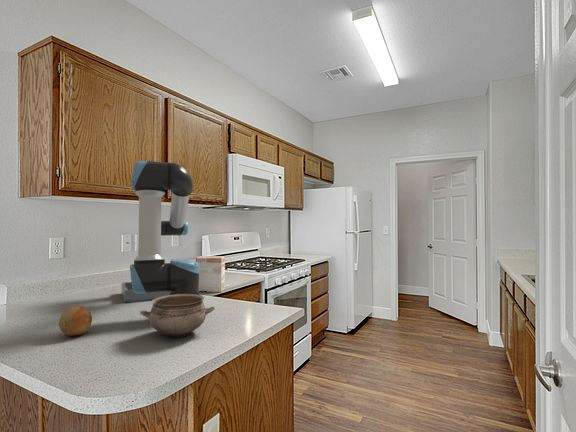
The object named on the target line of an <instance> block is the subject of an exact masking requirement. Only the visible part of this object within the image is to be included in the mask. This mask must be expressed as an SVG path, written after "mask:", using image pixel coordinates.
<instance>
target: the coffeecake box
mask: <svg viewBox="0 0 576 432" xmlns="http://www.w3.org/2000/svg"><path fill="white" fill-rule="evenodd" d="M225 260H226V256H225V255H224V256H221V255H219V256H213V255H211V256H210V255H209V256H205V255H203V256H202V255H200V256H196V257H195V262H197V263H198V264H199V272H200V274H199V291H207V292H206V293H222V292H224V291H225V290H226V289H225V288H226V287H225V283H226V282H225V281H226V279H225V278H226V271H225V270H226V263H225V262H226V261H225Z"/></svg>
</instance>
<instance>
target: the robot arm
mask: <svg viewBox="0 0 576 432" xmlns="http://www.w3.org/2000/svg"><path fill="white" fill-rule="evenodd" d="M132 171H133V172H132V176H131V188H132V189H133V190H134V193H135V195H136V196H137V197H138V239H137V240H138V241H137V242H138V244H137V246H138V247H137V248H138V249H137V254H138V255H137V256H136V258H135V259H133V263H132V264H130V266H129V270H130V271H129V272H130V282H132V288H133V291H134V292H135V293H137V294H142V293H145V294H147V293H158V292H170V295H175V294H195V295H200V292H199V274H200V272H199V264H198V263H197V262H196V260H189V259H181V258H180V259H179V258H177V259H175V258H173V259H170V261H169V263H166V259H165V257H163V256H162V237H163V236H179V237H180V236H186V235H188V233H189V223H188V221H186V217H187V213H188V212H187V211H188V206H189V200H190V195H192V193H193V191H194V190H193V189H194V181H193V178H192V176H191V175H190V173H189V171H188V170H187V169H186V168H185V167H184V166H182V165H181V164H180V163H179V164H178V163H176V162H165V161H154V160H138V161H136V162H135V163H134V166H133V170H132ZM166 191H171V193H172V194H171V201H170V202H171V203H170V212H169V220H162V198H163V197H164V196H165V195H166Z"/></svg>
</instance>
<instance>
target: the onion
mask: <svg viewBox="0 0 576 432" xmlns="http://www.w3.org/2000/svg"><path fill="white" fill-rule="evenodd" d="M92 321H93V316H92V313H91V312H90V310H89V309H88V308H86V307H84V306H83V305H72V306H71V307H69V308H67V309H66V310H65V311H64V312H63V313H62V314H61V315H60V318H59V320H58V327H59V330H60V331H61V332H62V333H63V334H64V335H66V336H68V337H70V336H72V337H74V336H82V335H84V334H85V333H86V332H87V331H88V330H89V329H90V327H91V325H92V323H93V322H92Z"/></svg>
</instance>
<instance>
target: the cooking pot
mask: <svg viewBox="0 0 576 432" xmlns="http://www.w3.org/2000/svg"><path fill="white" fill-rule="evenodd" d="M204 300H205V297H204V296H202V295H201V294H199V295H195V294H175V295H167V296H162V297H158V298H155V299H153V300H152V301H151V303H152V307H151V309H150V311H146V310H143V309H142V310H140V311H139V313H140V315H141V316H142V317H145V318H147V319H148V320H149V323H150V325H151V326H152V328H153V329H154V330H155V331H157V332H159V333H160V334H162V335H165V336H167V337H170V338H181V337H182V336H183V337H185V336H188V335H189V334H190V333H192V332H194V331H195V330H196V329H198V328H200V327H201V325H203V324H204V322H205V320H206V316H207V315H208V314H210V313H212V312H213V311H215V306H211V307H206V306H205V303H204ZM187 334H188V335H187Z"/></svg>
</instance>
